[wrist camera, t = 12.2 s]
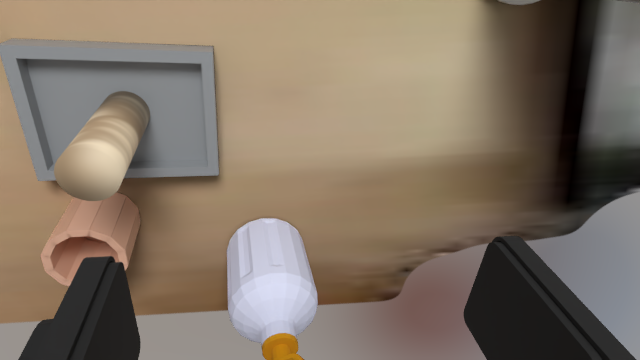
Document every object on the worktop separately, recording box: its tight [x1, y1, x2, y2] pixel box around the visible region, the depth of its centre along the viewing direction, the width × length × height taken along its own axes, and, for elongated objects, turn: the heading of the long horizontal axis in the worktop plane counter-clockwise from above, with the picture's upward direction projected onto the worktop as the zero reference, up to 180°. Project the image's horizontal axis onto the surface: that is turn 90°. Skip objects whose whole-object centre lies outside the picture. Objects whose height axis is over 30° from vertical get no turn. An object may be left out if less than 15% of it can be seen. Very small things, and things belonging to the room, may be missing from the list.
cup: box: [41, 192, 141, 286], centre depth 40 cm, size 7×7×7 cm
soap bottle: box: [227, 218, 318, 360], centre depth 39 cm, size 9×9×25 cm
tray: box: [0, 39, 219, 181], centre depth 37 cm, size 16×12×2 cm
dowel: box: [54, 91, 150, 201], centre depth 32 cm, size 4×4×12 cm
